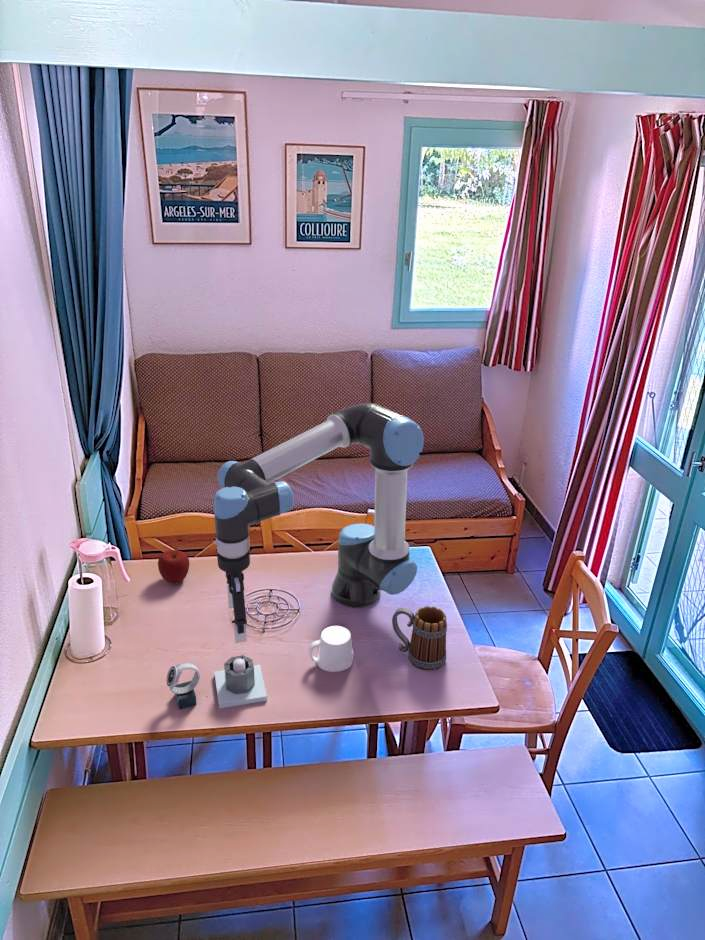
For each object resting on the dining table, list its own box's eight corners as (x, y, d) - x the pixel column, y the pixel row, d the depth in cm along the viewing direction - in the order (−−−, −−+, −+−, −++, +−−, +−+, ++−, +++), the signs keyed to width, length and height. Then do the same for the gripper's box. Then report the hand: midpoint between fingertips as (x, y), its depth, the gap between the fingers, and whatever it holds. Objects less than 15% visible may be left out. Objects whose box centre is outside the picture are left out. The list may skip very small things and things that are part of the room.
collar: (252, 671, 191) (251, 654, 188) (255, 691, 185) (255, 672, 182) (224, 676, 189) (223, 658, 187) (227, 695, 183) (226, 677, 181)
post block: (260, 668, 194) (259, 643, 191) (267, 700, 184) (266, 674, 180) (214, 675, 192) (212, 650, 188) (219, 708, 181) (217, 682, 177)
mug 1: (349, 623, 198) (356, 642, 191) (348, 650, 202) (355, 669, 195) (306, 629, 195) (312, 648, 188) (306, 656, 200) (311, 676, 193)
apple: (187, 589, 225) (184, 562, 220) (156, 588, 225) (153, 561, 220) (193, 572, 233) (191, 545, 229) (163, 571, 233) (161, 544, 229)
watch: (167, 696, 184) (163, 663, 179) (198, 688, 187) (195, 655, 182) (171, 711, 180) (167, 677, 175) (203, 703, 183) (200, 669, 178)
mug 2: (449, 651, 203) (454, 608, 196) (441, 676, 194) (445, 631, 187) (396, 638, 207) (399, 595, 201) (385, 661, 198) (388, 617, 192)
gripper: (211, 525, 179) (216, 595, 189) (222, 583, 158) (227, 659, 167) (242, 522, 181) (245, 591, 190) (257, 579, 159) (260, 654, 169)
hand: (237, 623), depth 179 cm, fingers open, 13 cm apart
